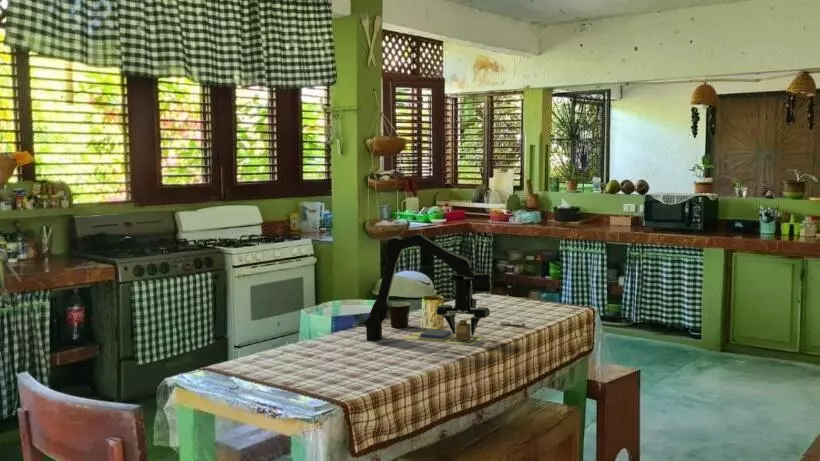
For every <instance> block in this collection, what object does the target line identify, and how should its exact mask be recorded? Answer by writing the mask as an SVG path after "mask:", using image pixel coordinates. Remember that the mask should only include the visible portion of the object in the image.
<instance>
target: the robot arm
mask: <svg viewBox="0 0 820 461" xmlns="http://www.w3.org/2000/svg"><path fill="white" fill-rule="evenodd" d="M416 246H418V247H419V248H421V249H423V250H425V251H426V252H428V253H429V254H431V255H433V256H435V257H436V258H438V259H439V260H441V261H443V262H444V263H445V264H446V265H447V266H448V267H449V268H450V269H451V270H452V271H454V272H453V274H452V275H451V276H449V281H454V295H453V299H454V306H453V305H451V304H442V305H440V306H437V308H436V315H437V316H442V318H445V321H446V322H447V324H448V325H449V328H450V331H451V333H453V334H456V314H461V315H462V314H463V315H472V317H470V327H471V336H475V335H474V334H475V331H476V329H477V326H478V323H479V321H480V320H481V319H485V318H486V319H487V317H489V316H490V314H491V313H490V308H489V307H483V306H482V307H480V306H479V307H477V302H478V300H477V299H475V298H473V294H472V292H471V290H473V291H474V292H475V293H492V281H491V273H476V272H475V270H474V269H473V267H472V266H471V261H470V260H469V258H468V257H466V256H463V255H460V254H459V253H458V254H457V253H455V252H451V251H449V250H448V249H445V248H444V247H443V246H441V245H439V244H438V243H436V242H434V241H433V240H431V239H430V238H428V237H425V235H424V234H423V233H415V234H412V235H408V236H404V237H402V236H398V235H395V236H393V237H392V238H390V239H388V241H387V243H386V258H385V259H386V261H385V265H384V268H383V270H384V271H383V273H382V278H381V282H380V286H379V290H378V294H377V297H376V299H375V301H374V303H373V305H372V307H371V310H370V312H369V316H368V317H367V318H366V319H364V321H363V324H364V326H365V331H366V334H365V335H366V341H367V342H377V341H381V340H382V339H383V324H382V323H383V321H384V320H385V319H386V318H388V317H389V316H390V307H391V305H392V303H393V302H389V297H390V292H391V289H392V284H393V280H394V277H395V273H396V269H397V265H398V261H399V260H400V258H401V255H402V254H403V251H404V250H405V249H408V248H412V247H416ZM457 274H458V275H457Z"/></svg>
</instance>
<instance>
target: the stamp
mask: <svg viewBox="0 0 820 461" xmlns="http://www.w3.org/2000/svg"><path fill="white" fill-rule="evenodd" d="M455 334H456V340H457V341H468V340H470V339H471V336H472V334H471V323H467V320H465V319H460V320H459V323H458V324H455Z"/></svg>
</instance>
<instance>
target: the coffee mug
mask: <svg viewBox="0 0 820 461" xmlns="http://www.w3.org/2000/svg"><path fill="white" fill-rule="evenodd" d="M391 303H392V305H391V307H390V314H389V320H390V327H391V329H397V330H400V329H401V330H402V329H406V328H408V327H409V318H410V309H411V308H410V307H411V303H409V302H403V301H400V302H399V301H398V302H397V301H396V302H391Z"/></svg>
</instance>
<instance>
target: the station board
mask: <svg viewBox="0 0 820 461" xmlns="http://www.w3.org/2000/svg"><path fill="white" fill-rule="evenodd" d="M424 332H425V331H423V330H422V331H421V330H420V331H419V330H417V331H414V332H412V333H410V334H408V335H406V336H404V337H402V338H401V340H406V341H414V342H417V341H418V342H426V343H427V342H428V343H439V344H450V345H451V344H452V345H462V346H471V347H472V346H474V345H475V344H477V343H479V342H480V341H482V340H483V339H485V338H486V336H483V335H482V336H481V335H473V336H472V335H471V339H470V340H468V341H457V340H456V333H455V334H454V335H453V336H452V337H450V338H448V339H446V340H445V341H432V340H421V339H418V337H419V336H420V334H422V333H424Z"/></svg>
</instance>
